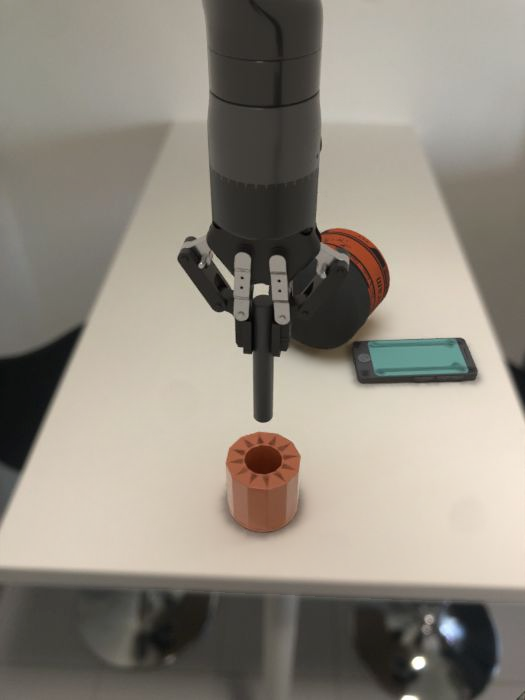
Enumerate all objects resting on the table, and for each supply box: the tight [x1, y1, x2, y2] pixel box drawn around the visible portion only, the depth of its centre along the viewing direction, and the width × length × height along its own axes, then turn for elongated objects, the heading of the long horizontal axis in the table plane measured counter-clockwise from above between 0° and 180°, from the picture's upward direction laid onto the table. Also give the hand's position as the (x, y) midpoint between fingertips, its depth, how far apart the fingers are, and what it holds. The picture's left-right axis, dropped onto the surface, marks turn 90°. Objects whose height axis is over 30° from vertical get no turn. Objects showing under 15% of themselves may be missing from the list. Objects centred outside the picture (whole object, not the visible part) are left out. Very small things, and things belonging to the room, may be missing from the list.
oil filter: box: [267, 227, 391, 350], centre depth 88 cm, size 13×12×13 cm
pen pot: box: [225, 431, 302, 533], centre depth 69 cm, size 7×7×7 cm
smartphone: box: [351, 337, 479, 384], centre depth 87 cm, size 7×1×15 cm
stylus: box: [252, 294, 275, 424], centre depth 58 cm, size 2×2×14 cm
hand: (263, 348), depth 57 cm, fingers closed on stylus, 2 cm apart
